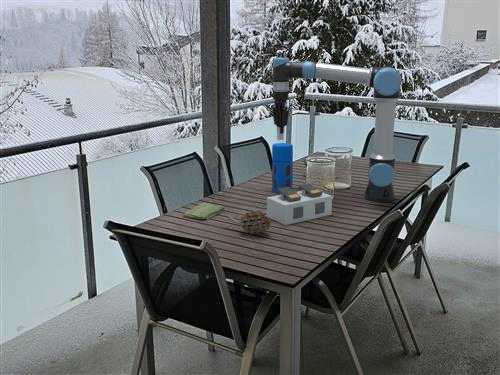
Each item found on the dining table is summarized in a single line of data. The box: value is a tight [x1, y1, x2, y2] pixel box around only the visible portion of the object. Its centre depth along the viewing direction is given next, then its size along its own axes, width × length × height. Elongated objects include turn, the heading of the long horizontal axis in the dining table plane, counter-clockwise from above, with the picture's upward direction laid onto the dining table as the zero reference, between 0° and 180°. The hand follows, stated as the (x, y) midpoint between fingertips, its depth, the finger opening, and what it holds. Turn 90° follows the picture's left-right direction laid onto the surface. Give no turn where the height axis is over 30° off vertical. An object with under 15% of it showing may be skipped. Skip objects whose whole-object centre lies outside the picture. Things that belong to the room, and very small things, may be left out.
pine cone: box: [226, 209, 272, 235], centre depth 209 cm, size 22×10×10 cm, turn 62°
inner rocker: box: [297, 183, 323, 197], centre depth 230 cm, size 10×6×2 cm, turn 32°
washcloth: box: [182, 202, 225, 221], centre depth 234 cm, size 13×18×3 cm
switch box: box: [266, 186, 333, 226], centre depth 229 cm, size 14×26×12 cm, turn 122°
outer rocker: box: [277, 187, 301, 202], centre depth 224 cm, size 10×6×2 cm, turn 32°
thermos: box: [271, 142, 294, 194], centre depth 268 cm, size 11×11×25 cm
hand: (280, 139), depth 247 cm, fingers closed
